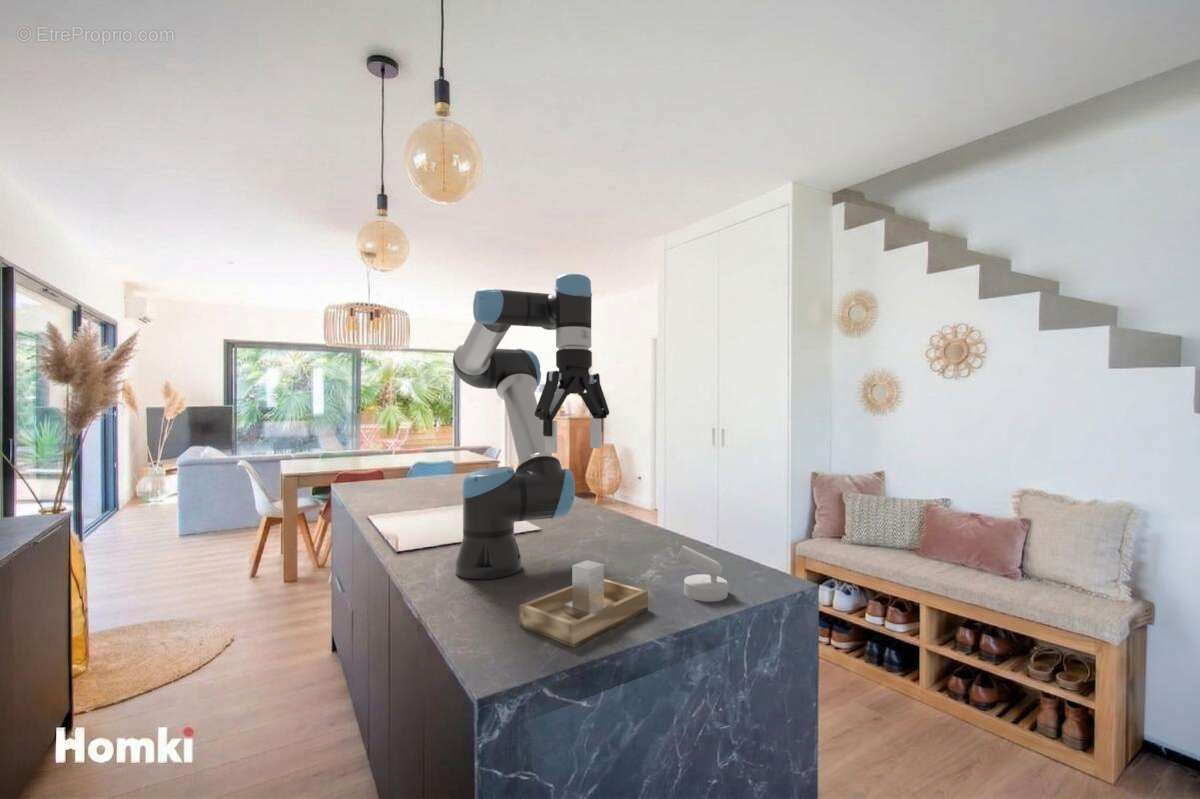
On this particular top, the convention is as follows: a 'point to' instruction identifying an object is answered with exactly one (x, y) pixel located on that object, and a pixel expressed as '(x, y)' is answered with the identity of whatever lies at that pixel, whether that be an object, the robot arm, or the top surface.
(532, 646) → the top surface
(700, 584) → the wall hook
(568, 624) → the wooden tray
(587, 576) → the frosted glass pillar
